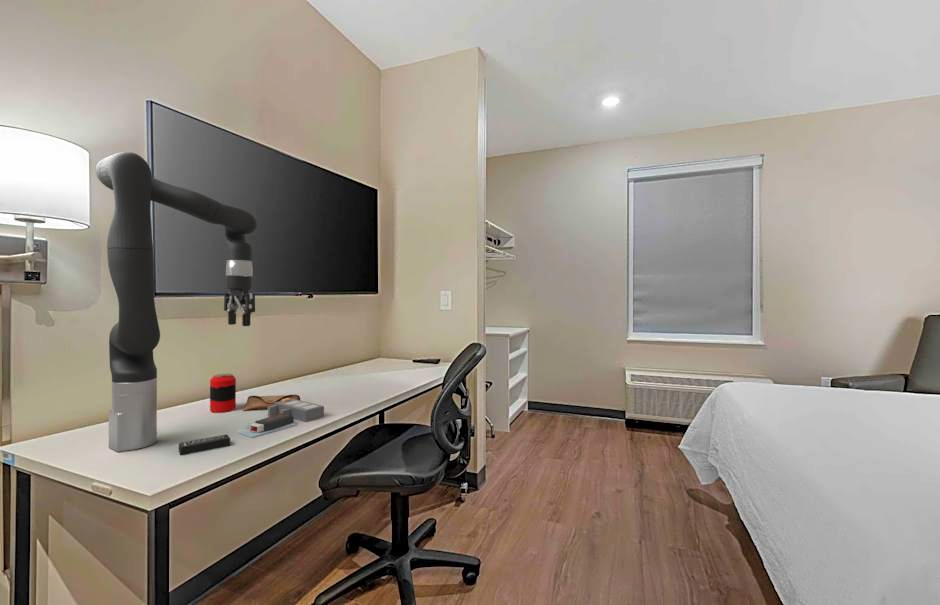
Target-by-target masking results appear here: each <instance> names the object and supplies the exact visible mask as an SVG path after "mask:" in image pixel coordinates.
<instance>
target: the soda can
mask: <svg viewBox="0 0 940 605" xmlns="http://www.w3.org/2000/svg"><path fill="white" fill-rule="evenodd" d="M236 379H237V378H236V377H235V376H234V375H233V373H219V374H213V376H212V378H210V380H209V382H210V383H209V411H210V412H211V413H214V414H222V413H228V412H231V411H232V412H233V411H235V409H236V408H237V407H236V405H237V403H236V400H237V399H236V398H237V395H236V394H237V390H236V389H237V388H236V384H237V380H236Z"/></svg>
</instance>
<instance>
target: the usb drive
mask: <svg viewBox="0 0 940 605" xmlns="http://www.w3.org/2000/svg"><path fill="white" fill-rule="evenodd" d="M294 420H295V419H294V418H293V416H292V415H288V414H282V413H281V414H277V415H274V416H270V417H269V416H267V417H264V418H261V419H259V420H255V422H254V423H252V424H250V425H249V429H250V431H252V432H256V433H259V432H261V431H264V432H265V431H270V430H273V429H276V428H279V427H282V426H285V425H288V424H291V423H295V421H294Z"/></svg>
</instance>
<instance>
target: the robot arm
mask: <svg viewBox="0 0 940 605" xmlns="http://www.w3.org/2000/svg"><path fill="white" fill-rule="evenodd" d="M95 175H96V177H97V179H98V181H99V182H100V183H101V184H102V185H103V186H104V187H106V188H108V189H110V190H112V191H113V195H114V196H113V197H114V211H113V212H114V213H113V216H112V220H111V221H110V222H111V224H110V225H109V226H110V227H109V229H108V230H109V231H108V235H107V241H106V242H107V243H106V248H107V264H108V265H107V267H108V270H109V275H110V278H111V282H112V284H113V287H114V290H115V294H116V296H117V302H118V322H116V323H115V324H114V325H113V327H112V328H111V330H110V332H109V338H108V339H109V340H108V342H109V343H108V348H109V350H108V353H109V355H108V356H109V369H110V373H111V374H110V375H111V409H110V410H109V411H108V448H109V449H111V450H113V451H115V452H117V453H119V452H124V451H131V450H137V449H142V448H146V447H149V446H152V445H153V444H155V443H156V442H157V441H158V368H157V365H156V363H155V360H154V349H155V348H156V347H157V346H158V345H159V343H160V339H161V331H160V330H161V329H160V326H159V320H158V315H157V309H156V304H155V259H154V256H155V255H154V245H153V232H152V231H153V230H152V219H151V202H154V203H158V204H160V205H163V206H166V207H169V208H172V209H173V210H177V211H180V212H182V213H185V214H187V215H190V216H192V217H193V218H196V219H199V220H200V221H201V220H202V221H204V222H206V223H209V224H211V225H219V226H220V225H221V226H222V232H223V238H224V242H225V246H226V248H227V249H226V263H225V264H226V265H225V289H226V290H230V292H224V296H223V297H224V298H223V299H224V300H223V301H224V302H223V311H224V312H226V313H227V324H228V325H230V326H231V325H234V326H235V325H236V324H237V310H238V309H240V310H241V314H242V316H241V318H242V321H241V326H243V327H250V326H251V315H252V314H253V313H256V295H255V293H254V292H249V291H251V290H253V288H254V287H253V282H254V280H253V278H254V277H253V276H254V275H253V274H254V273H253V270H254V269H253V248H252V245H251V244H250V243H248V242H247V241H246V236H245V235H249V234H252V233H253V232H255V230H257V227H258V223H257V219H256V218H255V216H254V215H253V214H251V213H250V212H248V211H246V210H244V209H241V208H238V207H234V206H232V205H228V204H224V203H222V202H219V201H217V200H215V199H213V198H212V197H208V196H207V195H204V194H202V193H200V192H198V191H194V190H191V189H188V188H184V187H180V186H176V185H172V184H169V183H167V182H165V181H161V180H160V179H156V178H155V177H153V174H152V170H151V167H150V166H149V164H148V162H147V161H146V160H145V159H144V158H143V157H142V156H140V155H139V154H137V153H135V152H132V151H121V152H117V153H114V154H111V155H108V156H106V157H104V158H102V159H100V161H98V163H97V164H96V167H95Z"/></svg>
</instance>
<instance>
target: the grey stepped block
mask: <svg viewBox="0 0 940 605" xmlns="http://www.w3.org/2000/svg"><path fill="white" fill-rule="evenodd" d="M281 413H282V414H288V415H292V416H293V418H294V420H297V421H302V422H305V423H307V422H309V421H313V420H317V419H320V417H321V418H323V416H324V417H325V406H324V405H321V404H316V403H313V402H309V401H304V400H301V399H300V400H296V399H290V398H286V399H281V401H279V402H275V403H274V406H270V407H268V410H267V417H271V416H274V415H277V414H281Z"/></svg>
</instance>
